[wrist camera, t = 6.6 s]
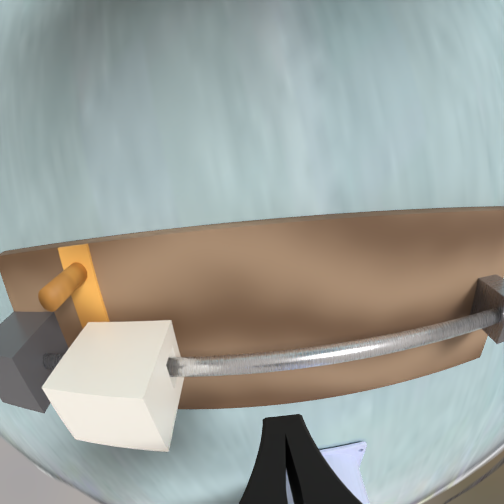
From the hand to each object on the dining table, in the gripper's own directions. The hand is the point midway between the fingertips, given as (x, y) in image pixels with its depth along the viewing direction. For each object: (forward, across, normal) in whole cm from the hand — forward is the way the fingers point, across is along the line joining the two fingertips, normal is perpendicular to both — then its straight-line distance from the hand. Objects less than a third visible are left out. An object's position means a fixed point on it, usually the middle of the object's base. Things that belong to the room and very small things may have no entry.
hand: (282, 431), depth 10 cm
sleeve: (+6, +7, 0) cm, 9 cm away
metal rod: (+8, -2, 0) cm, 8 cm away
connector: (+8, +15, 0) cm, 17 cm away
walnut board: (+8, 0, 0) cm, 8 cm away
